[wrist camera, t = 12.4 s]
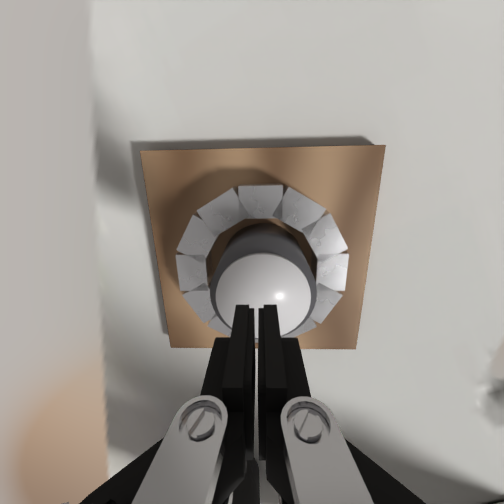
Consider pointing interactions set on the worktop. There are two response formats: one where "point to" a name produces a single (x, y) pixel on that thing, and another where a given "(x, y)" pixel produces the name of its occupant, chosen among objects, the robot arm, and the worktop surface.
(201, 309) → the grey segmented ring
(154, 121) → the worktop surface
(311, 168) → the board
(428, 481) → the worktop surface
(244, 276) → the cap
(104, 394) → the worktop surface
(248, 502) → the travel mug
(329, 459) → the robot arm
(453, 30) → the worktop surface
